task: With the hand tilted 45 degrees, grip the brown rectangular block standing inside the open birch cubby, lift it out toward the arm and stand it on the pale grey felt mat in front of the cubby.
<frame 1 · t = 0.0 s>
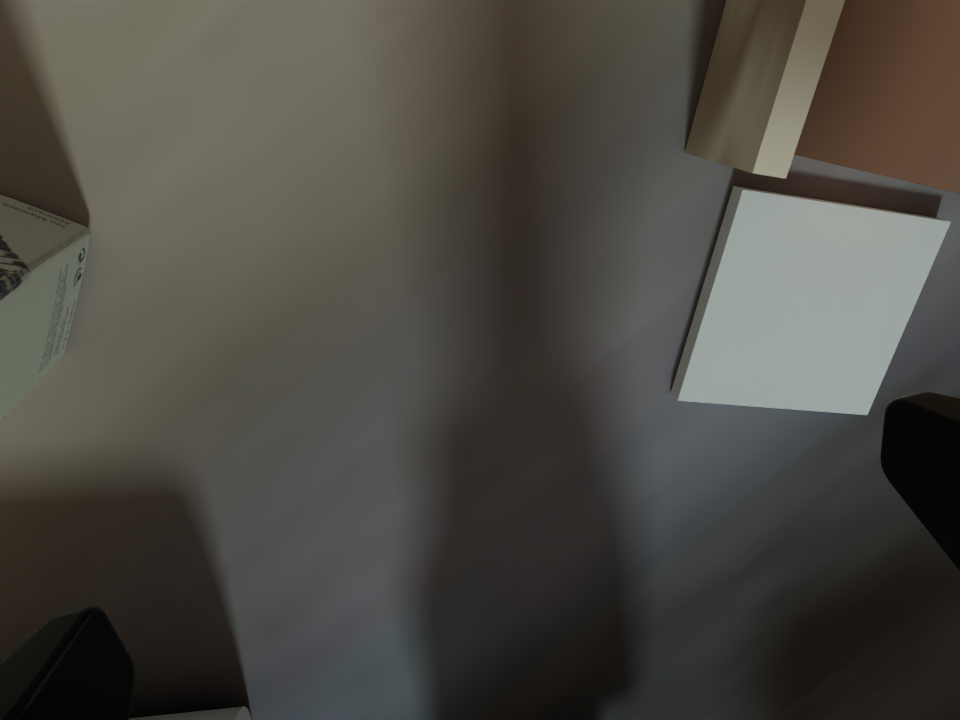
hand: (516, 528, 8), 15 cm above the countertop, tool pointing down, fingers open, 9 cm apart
brown rectangular block: (882, 83, 22), on the countertop
cubby: (883, 83, 22), on the countertop
mat: (800, 307, 24), on the countertop
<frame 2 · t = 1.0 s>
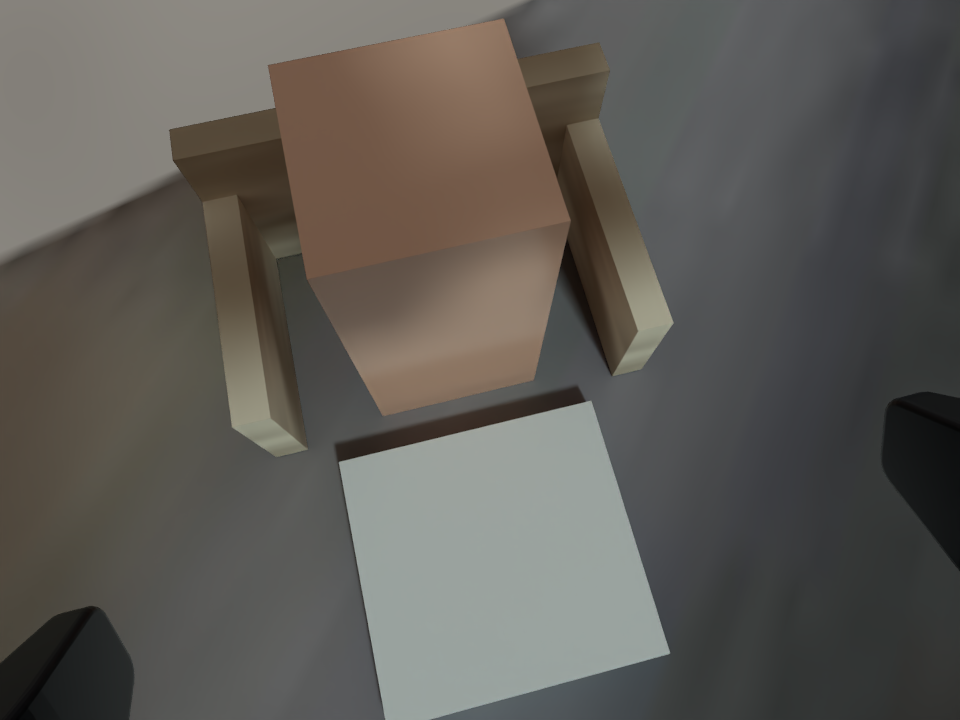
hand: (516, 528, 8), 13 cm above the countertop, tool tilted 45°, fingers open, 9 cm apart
brown rectangular block: (441, 328, 23), on the countertop
cubby: (441, 327, 23), on the countertop
mat: (496, 554, 20), on the countertop
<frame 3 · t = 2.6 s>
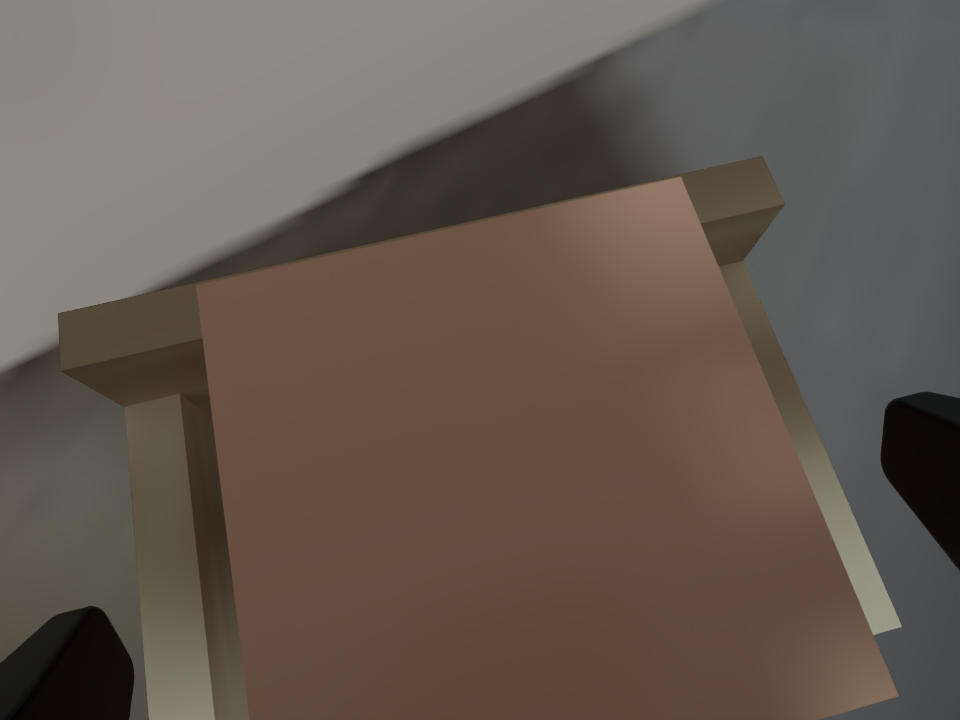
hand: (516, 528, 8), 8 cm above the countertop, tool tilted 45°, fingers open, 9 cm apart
brown rectangular block: (494, 554, 15), on the countertop
cubby: (494, 554, 15), on the countertop
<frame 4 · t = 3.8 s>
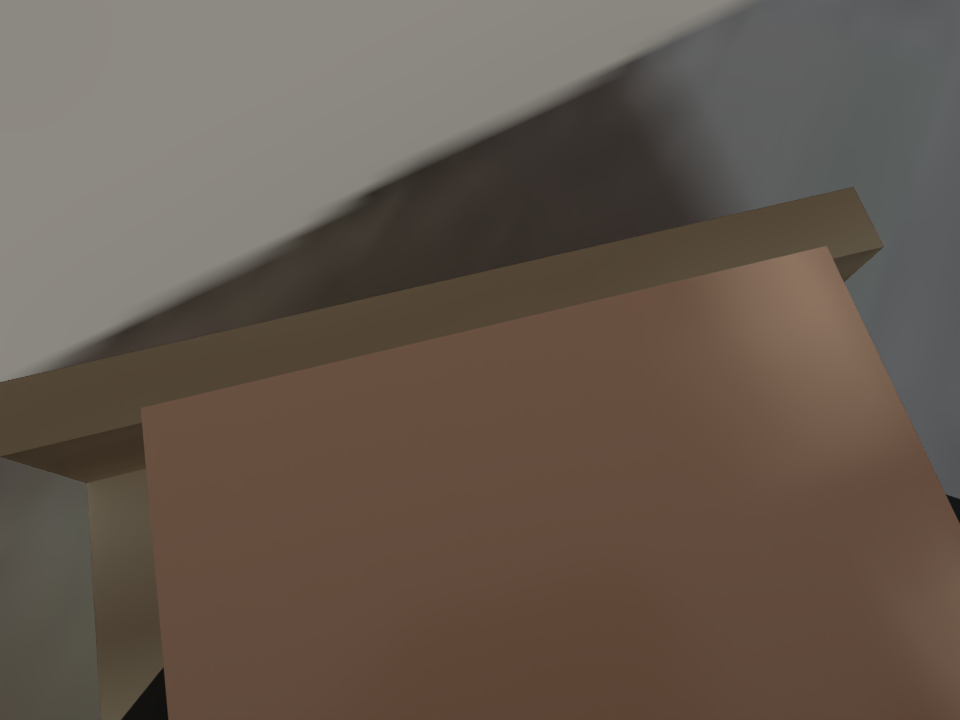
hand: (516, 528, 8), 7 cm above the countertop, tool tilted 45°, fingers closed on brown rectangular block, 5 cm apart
brown rectangular block: (519, 633, 13), on the countertop, touching gripper
cubby: (519, 634, 13), on the countertop
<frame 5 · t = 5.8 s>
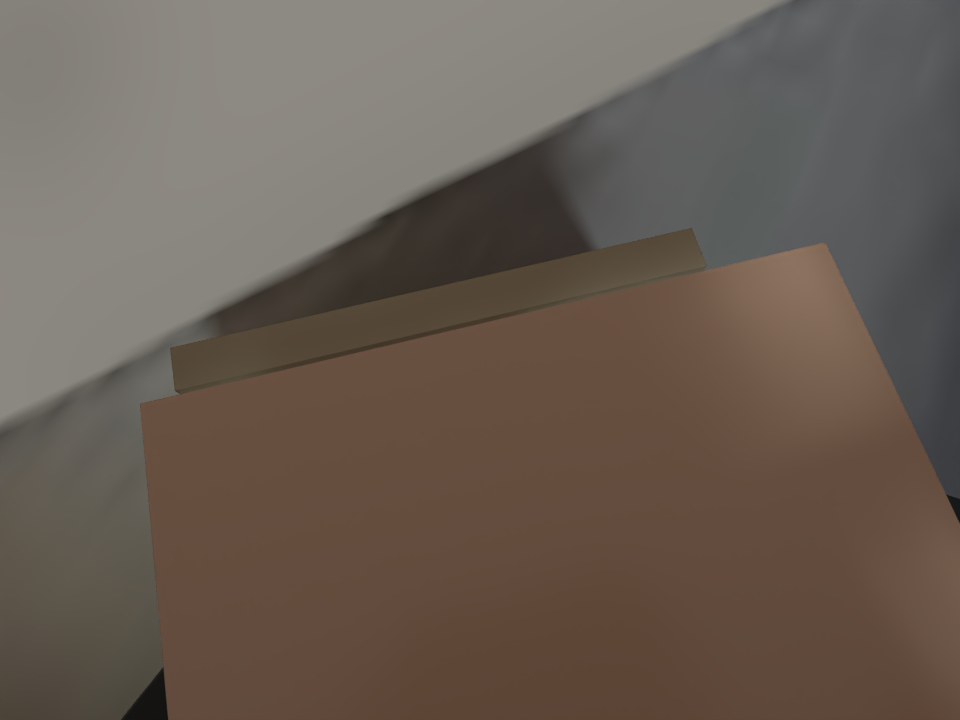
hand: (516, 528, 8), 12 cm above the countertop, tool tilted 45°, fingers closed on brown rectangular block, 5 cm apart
brown rectangular block: (519, 632, 13), point 6 cm above the countertop, touching gripper
cubby: (490, 527, 19), on the countertop
when the fingers open (8 cm above the countertop, at t = 7.8 s): brown rectangular block stays where it is, resting on mat.
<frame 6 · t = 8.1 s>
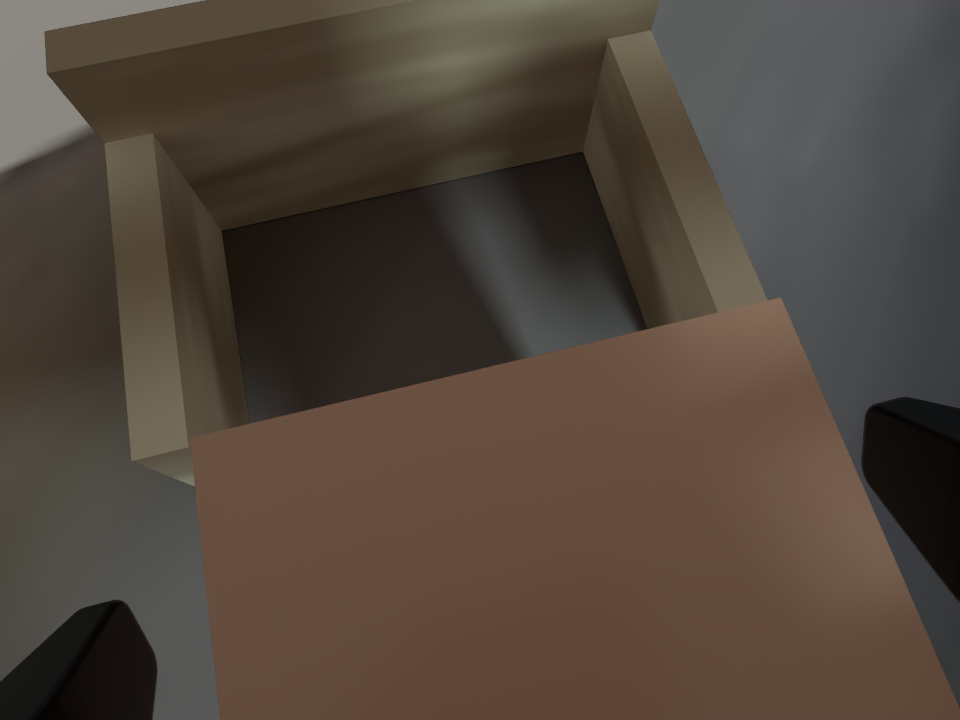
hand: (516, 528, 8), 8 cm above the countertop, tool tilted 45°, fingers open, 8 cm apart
brown rectangular block: (517, 632, 14), point 1 cm above the countertop, touching mat
cubby: (438, 319, 17), on the countertop
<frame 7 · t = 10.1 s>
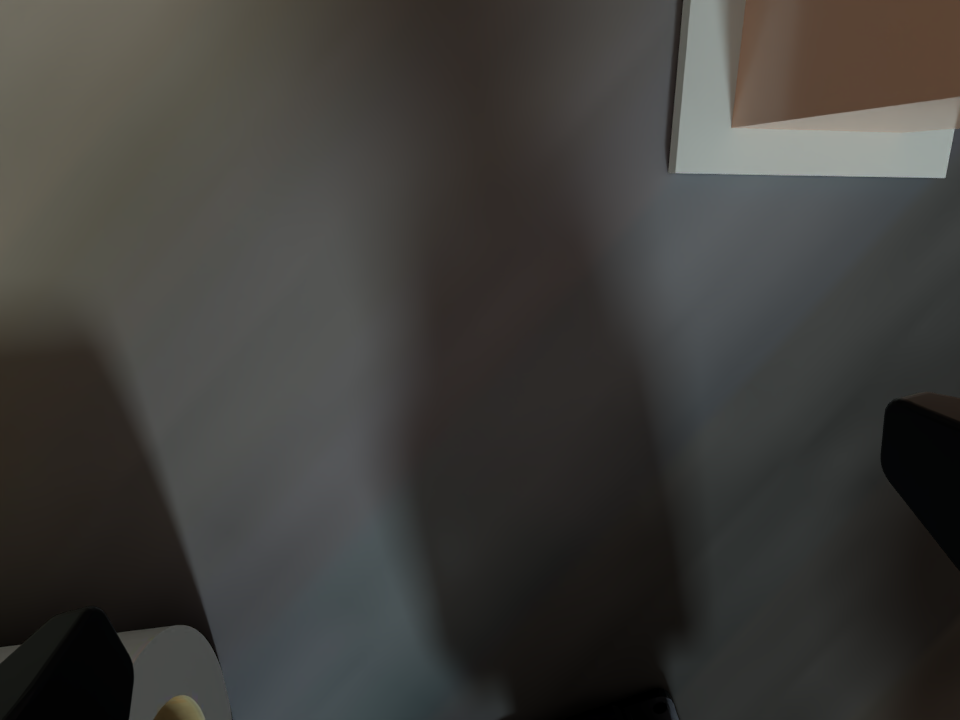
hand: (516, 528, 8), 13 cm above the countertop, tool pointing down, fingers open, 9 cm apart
brown rectangular block: (832, 33, 18), point 1 cm above the countertop, touching mat
toilet paper: (80, 701, 23), on the countertop
mat: (820, 36, 19), on the countertop
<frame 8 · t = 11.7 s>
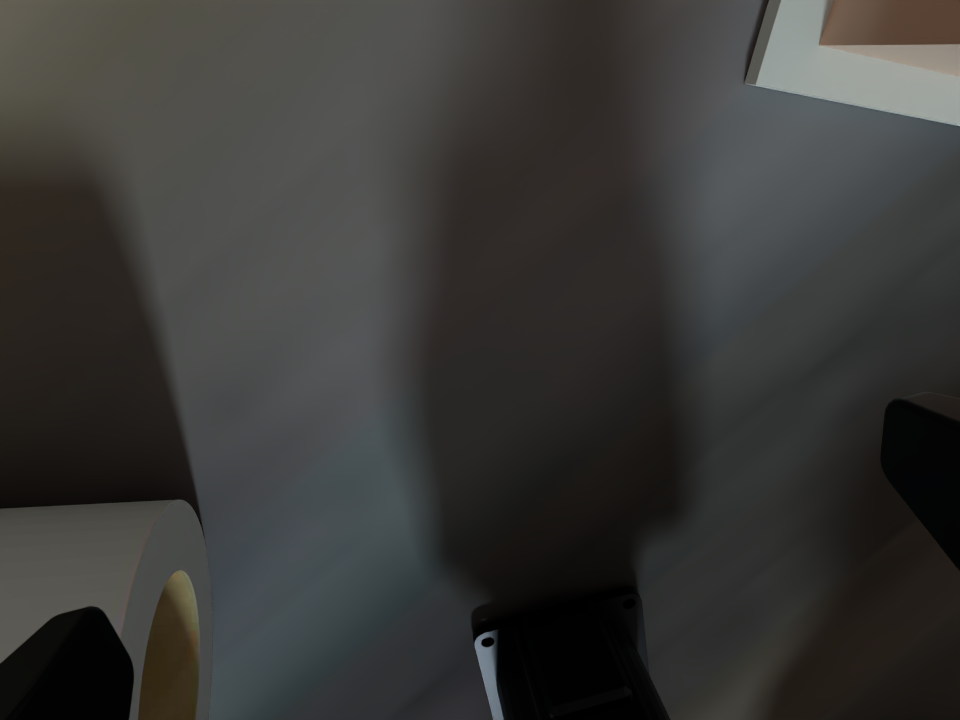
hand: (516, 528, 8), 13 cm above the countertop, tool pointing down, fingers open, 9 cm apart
toilet paper: (45, 570, 22), on the countertop
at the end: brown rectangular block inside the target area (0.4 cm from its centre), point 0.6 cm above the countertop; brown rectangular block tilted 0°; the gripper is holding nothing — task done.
